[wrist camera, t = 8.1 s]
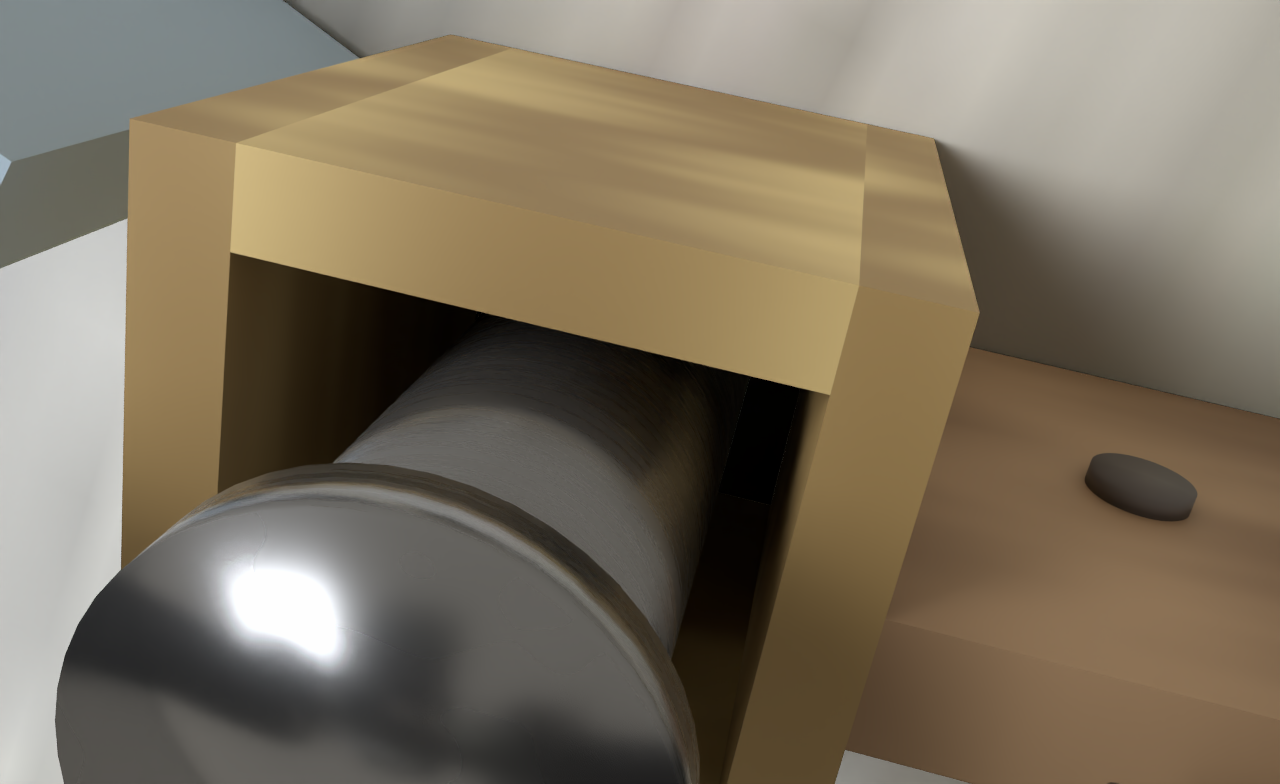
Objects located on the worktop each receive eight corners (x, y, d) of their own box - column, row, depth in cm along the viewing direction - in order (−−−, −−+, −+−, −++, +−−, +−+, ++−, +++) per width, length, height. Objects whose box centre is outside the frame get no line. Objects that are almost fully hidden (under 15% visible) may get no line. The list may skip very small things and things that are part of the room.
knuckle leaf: (1834, 332, 13) (2718, 711, 7) (1575, 762, 16) (2060, 1344, 9) (450, 34, 15) (129, 118, 9) (399, 465, 17) (117, 785, 11)
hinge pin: (826, 204, 15) (750, 614, 6) (758, 477, 16) (620, 1126, 8) (528, 138, 15) (52, 435, 6) (488, 410, 17) (56, 954, 8)
